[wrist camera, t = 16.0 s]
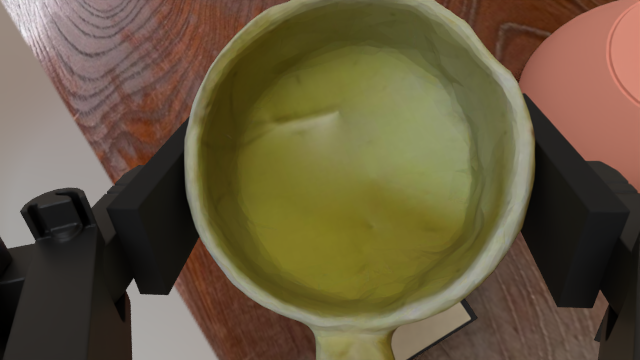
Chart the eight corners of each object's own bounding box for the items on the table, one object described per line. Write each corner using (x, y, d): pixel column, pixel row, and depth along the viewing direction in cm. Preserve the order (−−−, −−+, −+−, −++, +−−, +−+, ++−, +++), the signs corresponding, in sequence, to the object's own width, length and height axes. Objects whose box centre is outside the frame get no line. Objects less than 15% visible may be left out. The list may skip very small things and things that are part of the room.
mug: (235, 38, 19) (214, -109, 9) (447, 93, 20) (629, 20, 10) (177, 309, 19) (92, 466, 9) (395, 342, 20) (530, 507, 10)
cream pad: (293, 252, 29) (293, 253, 29) (388, 194, 30) (388, 194, 29) (367, 383, 27) (367, 383, 27) (470, 318, 27) (471, 318, 27)
